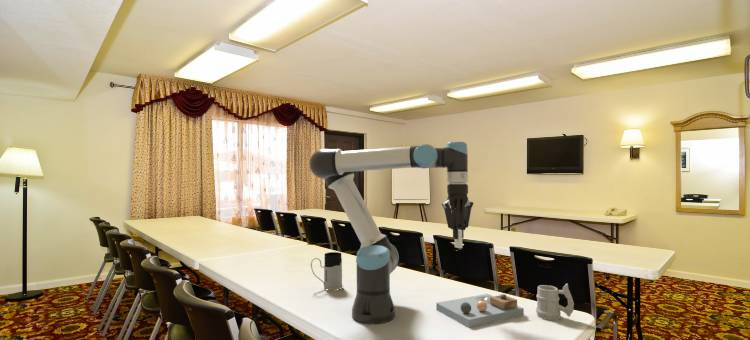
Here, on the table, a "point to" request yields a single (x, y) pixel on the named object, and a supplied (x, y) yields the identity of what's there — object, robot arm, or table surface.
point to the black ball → (465, 307)
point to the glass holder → (332, 271)
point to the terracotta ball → (481, 306)
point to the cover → (503, 302)
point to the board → (476, 311)
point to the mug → (552, 302)
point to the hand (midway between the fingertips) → (458, 247)
